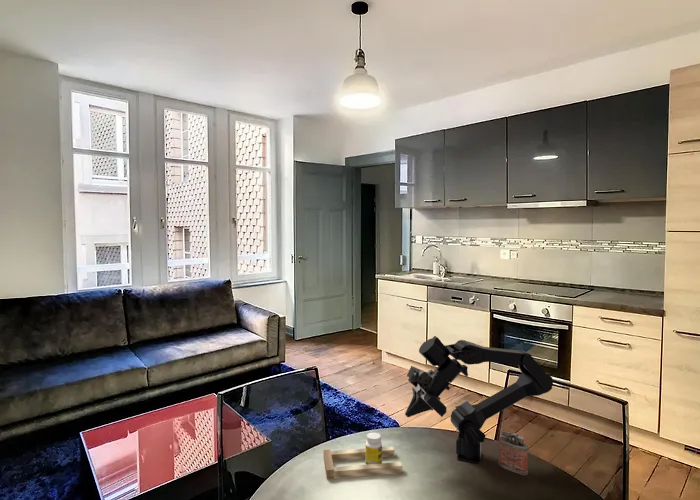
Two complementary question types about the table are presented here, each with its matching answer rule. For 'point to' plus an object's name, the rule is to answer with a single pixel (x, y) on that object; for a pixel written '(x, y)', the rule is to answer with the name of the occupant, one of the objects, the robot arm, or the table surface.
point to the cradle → (358, 469)
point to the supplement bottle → (373, 449)
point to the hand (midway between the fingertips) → (406, 415)
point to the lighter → (513, 453)
